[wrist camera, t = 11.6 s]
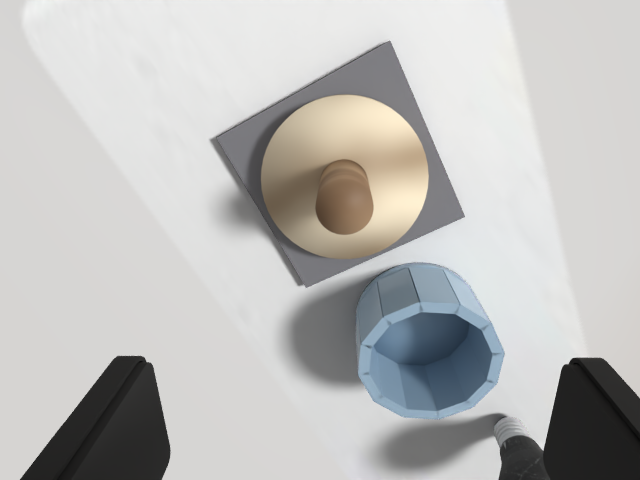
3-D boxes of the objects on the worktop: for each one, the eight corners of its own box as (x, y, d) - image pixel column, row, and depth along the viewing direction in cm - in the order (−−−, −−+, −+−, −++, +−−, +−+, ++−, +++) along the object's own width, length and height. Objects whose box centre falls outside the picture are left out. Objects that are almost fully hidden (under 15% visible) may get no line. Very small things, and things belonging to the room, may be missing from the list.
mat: (462, 213, 29) (465, 216, 29) (306, 284, 32) (306, 287, 31) (389, 41, 25) (390, 40, 25) (218, 136, 28) (216, 137, 27)
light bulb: (458, 433, 36) (498, 559, 27) (493, 385, 34) (550, 503, 25) (516, 454, 37) (574, 584, 28) (554, 408, 35) (631, 532, 26)
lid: (449, 211, 29) (477, 248, 23) (311, 274, 31) (304, 323, 25) (383, 61, 25) (395, 60, 20) (233, 144, 28) (205, 165, 22)
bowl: (494, 340, 33) (522, 390, 28) (385, 381, 35) (393, 435, 30) (450, 242, 30) (472, 278, 25) (334, 293, 32) (333, 336, 27)
